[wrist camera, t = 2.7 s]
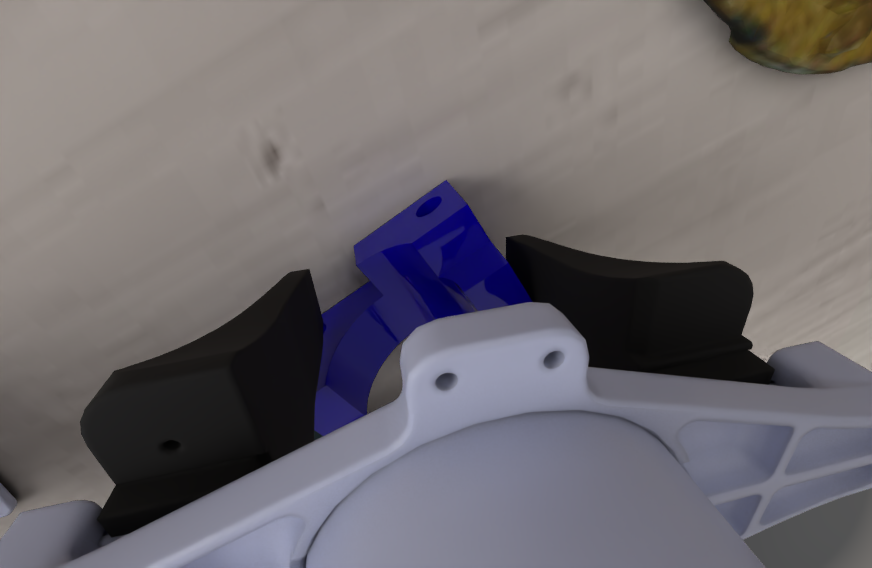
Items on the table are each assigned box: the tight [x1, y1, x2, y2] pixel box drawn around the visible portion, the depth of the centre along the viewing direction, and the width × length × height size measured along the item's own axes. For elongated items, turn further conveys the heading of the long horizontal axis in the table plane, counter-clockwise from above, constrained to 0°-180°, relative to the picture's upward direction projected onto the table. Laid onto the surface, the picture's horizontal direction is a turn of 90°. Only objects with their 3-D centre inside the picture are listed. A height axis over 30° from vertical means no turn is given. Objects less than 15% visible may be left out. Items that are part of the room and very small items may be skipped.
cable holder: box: [314, 180, 533, 436], centre depth 14 cm, size 8×4×4 cm, turn 124°
